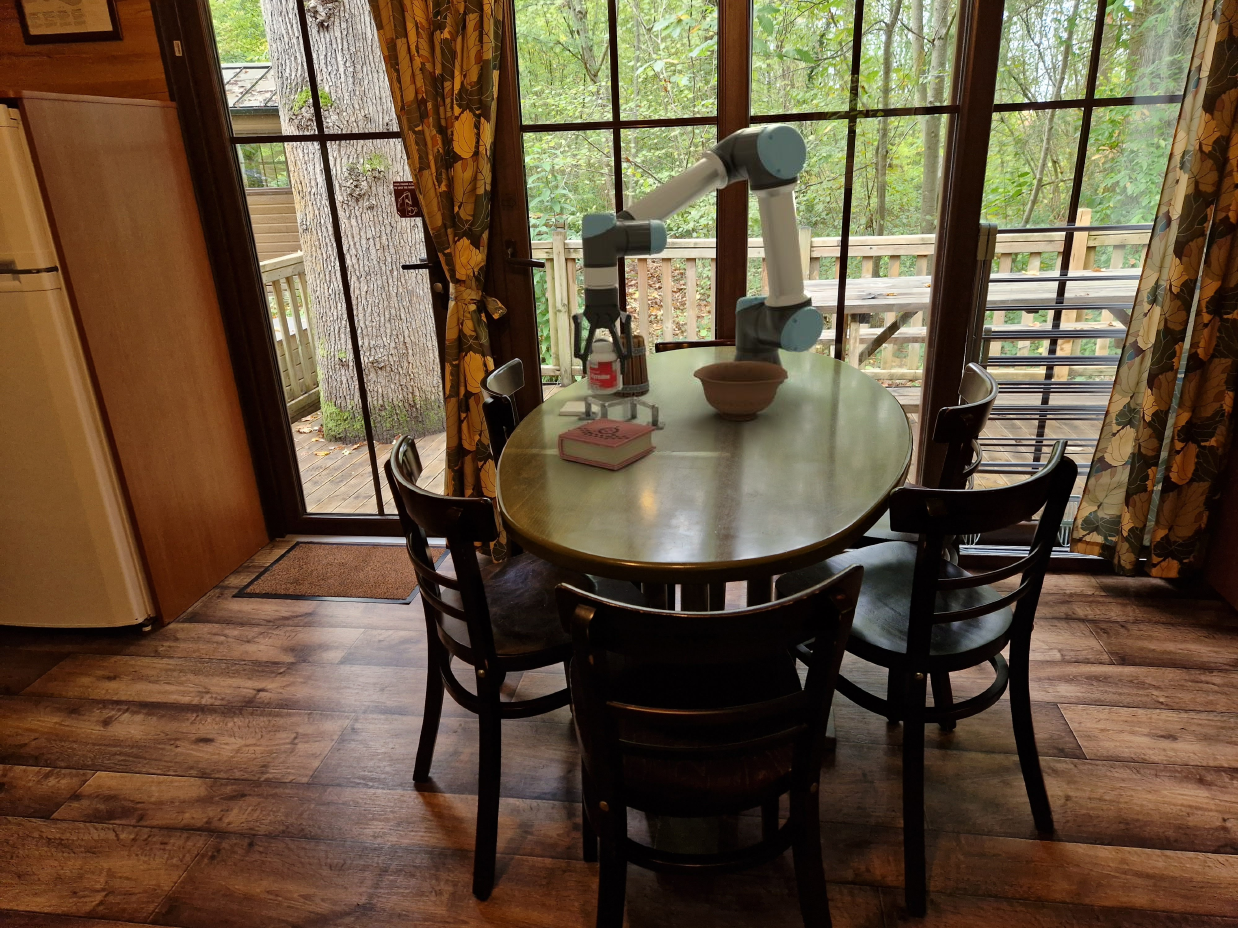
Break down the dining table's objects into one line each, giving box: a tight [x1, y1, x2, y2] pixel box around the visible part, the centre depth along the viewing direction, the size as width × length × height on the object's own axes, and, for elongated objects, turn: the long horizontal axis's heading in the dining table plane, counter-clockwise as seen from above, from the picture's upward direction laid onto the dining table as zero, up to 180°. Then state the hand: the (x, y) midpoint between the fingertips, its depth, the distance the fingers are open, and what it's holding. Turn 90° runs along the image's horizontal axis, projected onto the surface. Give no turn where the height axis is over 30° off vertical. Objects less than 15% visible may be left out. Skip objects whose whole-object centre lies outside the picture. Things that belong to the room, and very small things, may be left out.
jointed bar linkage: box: [578, 395, 666, 430], centre depth 184 cm, size 21×11×5 cm, turn 81°
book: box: [557, 417, 657, 471], centre depth 164 cm, size 14×15×5 cm
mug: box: [589, 334, 651, 398], centre depth 209 cm, size 16×11×15 cm
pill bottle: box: [589, 341, 617, 395], centre depth 178 cm, size 6×6×11 cm
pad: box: [559, 401, 601, 416], centre depth 196 cm, size 9×9×1 cm
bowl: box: [693, 361, 789, 422], centre depth 185 cm, size 22×22×11 cm
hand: (605, 388), depth 181 cm, fingers closed on pill bottle, 6 cm apart
